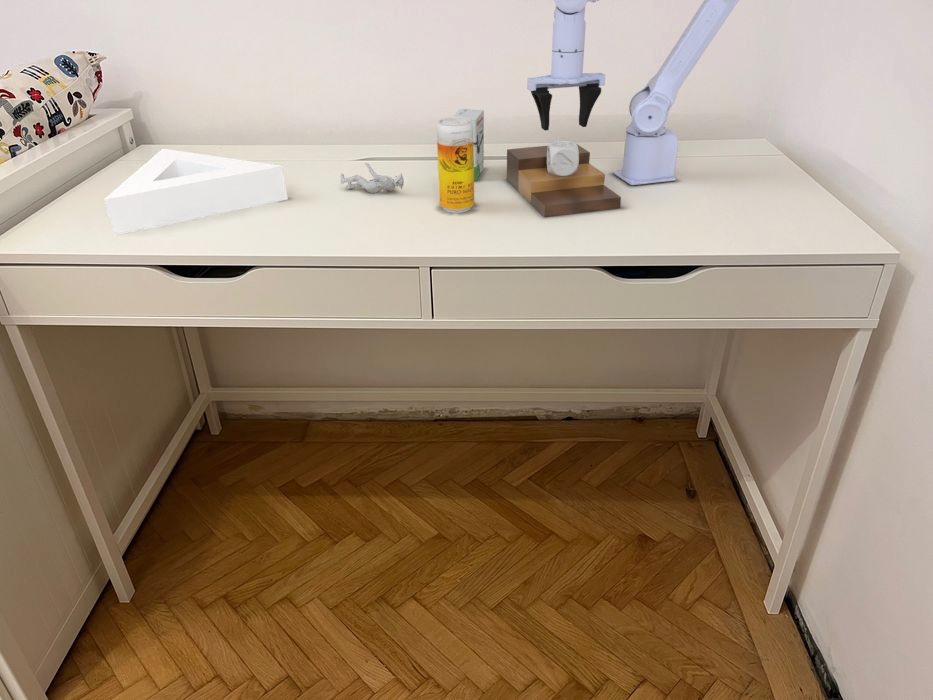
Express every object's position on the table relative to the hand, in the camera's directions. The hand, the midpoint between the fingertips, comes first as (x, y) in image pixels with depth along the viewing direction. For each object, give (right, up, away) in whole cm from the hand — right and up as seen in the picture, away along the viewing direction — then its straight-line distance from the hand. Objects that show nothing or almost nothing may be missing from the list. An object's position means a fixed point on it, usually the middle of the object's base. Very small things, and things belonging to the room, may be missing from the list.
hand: (563, 127), depth 132 cm
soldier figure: (-36, -13, -1) cm, 38 cm away
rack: (-1, -13, -4) cm, 14 cm away
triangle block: (-71, -14, -1) cm, 72 cm away
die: (-1, -10, -6) cm, 12 cm away
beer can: (-20, -17, -9) cm, 28 cm away
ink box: (-18, -7, +7) cm, 21 cm away
